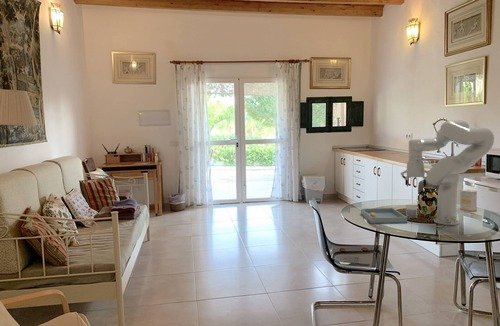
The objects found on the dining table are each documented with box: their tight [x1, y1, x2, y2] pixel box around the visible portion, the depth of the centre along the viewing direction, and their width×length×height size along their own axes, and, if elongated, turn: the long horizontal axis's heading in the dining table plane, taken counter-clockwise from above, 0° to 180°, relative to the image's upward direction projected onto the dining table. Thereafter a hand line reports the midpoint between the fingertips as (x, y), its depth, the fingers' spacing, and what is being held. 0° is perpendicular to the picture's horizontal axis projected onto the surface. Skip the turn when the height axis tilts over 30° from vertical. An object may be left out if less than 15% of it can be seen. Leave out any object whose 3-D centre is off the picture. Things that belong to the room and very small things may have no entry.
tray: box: [360, 207, 408, 225], centre depth 216 cm, size 24×20×4 cm
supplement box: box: [459, 188, 478, 213], centre depth 227 cm, size 8×5×13 cm, turn 22°
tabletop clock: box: [417, 173, 440, 195], centre depth 242 cm, size 14×9×25 cm, turn 90°
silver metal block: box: [405, 204, 418, 219], centre depth 218 cm, size 12×6×6 cm, turn 157°
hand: (415, 186), depth 223 cm, fingers open, 9 cm apart
